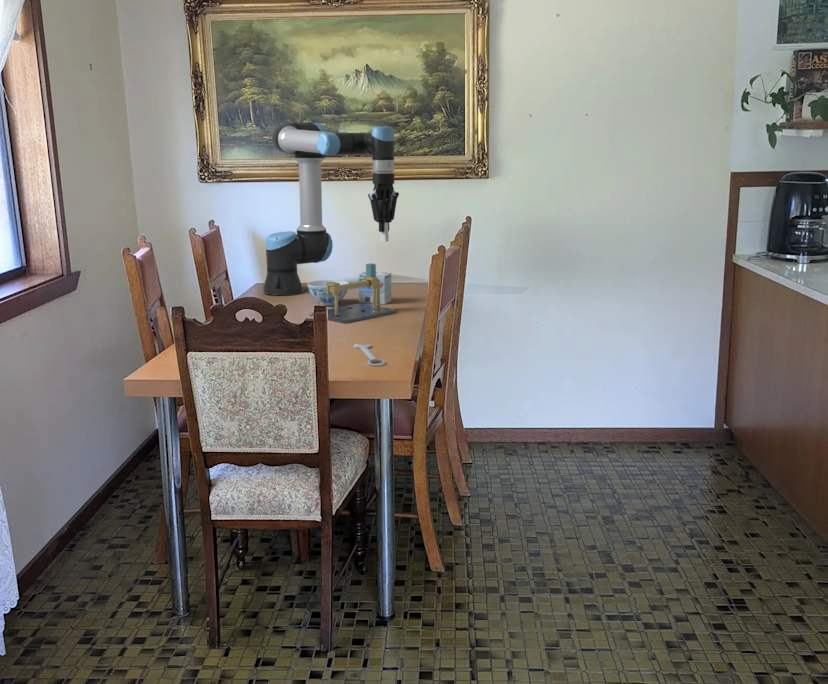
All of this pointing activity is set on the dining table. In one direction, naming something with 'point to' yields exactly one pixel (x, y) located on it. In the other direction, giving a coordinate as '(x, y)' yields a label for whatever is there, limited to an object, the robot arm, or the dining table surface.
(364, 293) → the light bulb box
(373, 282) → the sliding head
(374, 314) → the flange plate
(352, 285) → the divider frame
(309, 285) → the chinaware
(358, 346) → the wrench
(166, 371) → the dining table surface
